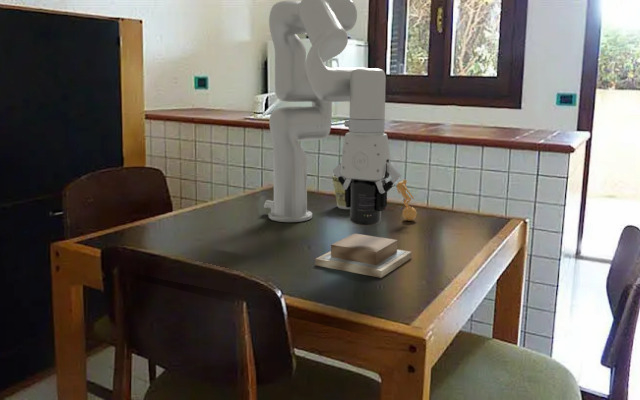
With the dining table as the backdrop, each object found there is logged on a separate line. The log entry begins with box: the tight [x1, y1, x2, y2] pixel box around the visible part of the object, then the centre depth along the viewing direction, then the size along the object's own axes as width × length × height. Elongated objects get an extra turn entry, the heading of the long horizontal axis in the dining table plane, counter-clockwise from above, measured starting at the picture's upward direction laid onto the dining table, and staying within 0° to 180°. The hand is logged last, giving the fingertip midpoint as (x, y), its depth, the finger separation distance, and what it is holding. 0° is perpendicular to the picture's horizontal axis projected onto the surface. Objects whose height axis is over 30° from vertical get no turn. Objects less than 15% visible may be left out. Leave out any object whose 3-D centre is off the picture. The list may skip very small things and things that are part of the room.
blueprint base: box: [314, 233, 413, 279], centre depth 141 cm, size 16×16×4 cm
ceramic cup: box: [331, 173, 350, 210], centre depth 193 cm, size 13×10×10 cm
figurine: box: [396, 179, 418, 222], centre depth 177 cm, size 8×6×12 cm
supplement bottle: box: [349, 180, 382, 226], centre depth 138 cm, size 7×7×12 cm
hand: (365, 207), depth 138 cm, fingers closed on supplement bottle, 6 cm apart
